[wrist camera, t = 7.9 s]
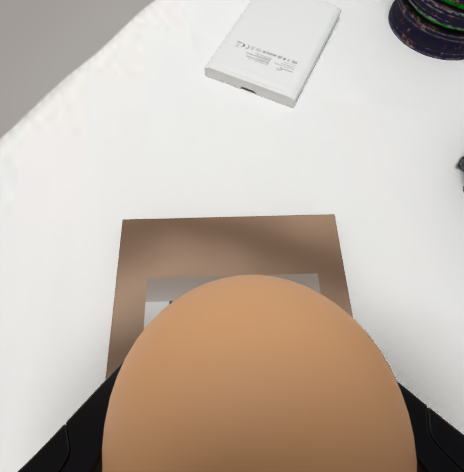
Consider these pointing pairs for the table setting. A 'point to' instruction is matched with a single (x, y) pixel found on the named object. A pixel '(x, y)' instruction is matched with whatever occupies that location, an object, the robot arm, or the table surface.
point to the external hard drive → (274, 47)
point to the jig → (217, 263)
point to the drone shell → (462, 165)
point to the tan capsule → (256, 388)
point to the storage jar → (430, 26)
